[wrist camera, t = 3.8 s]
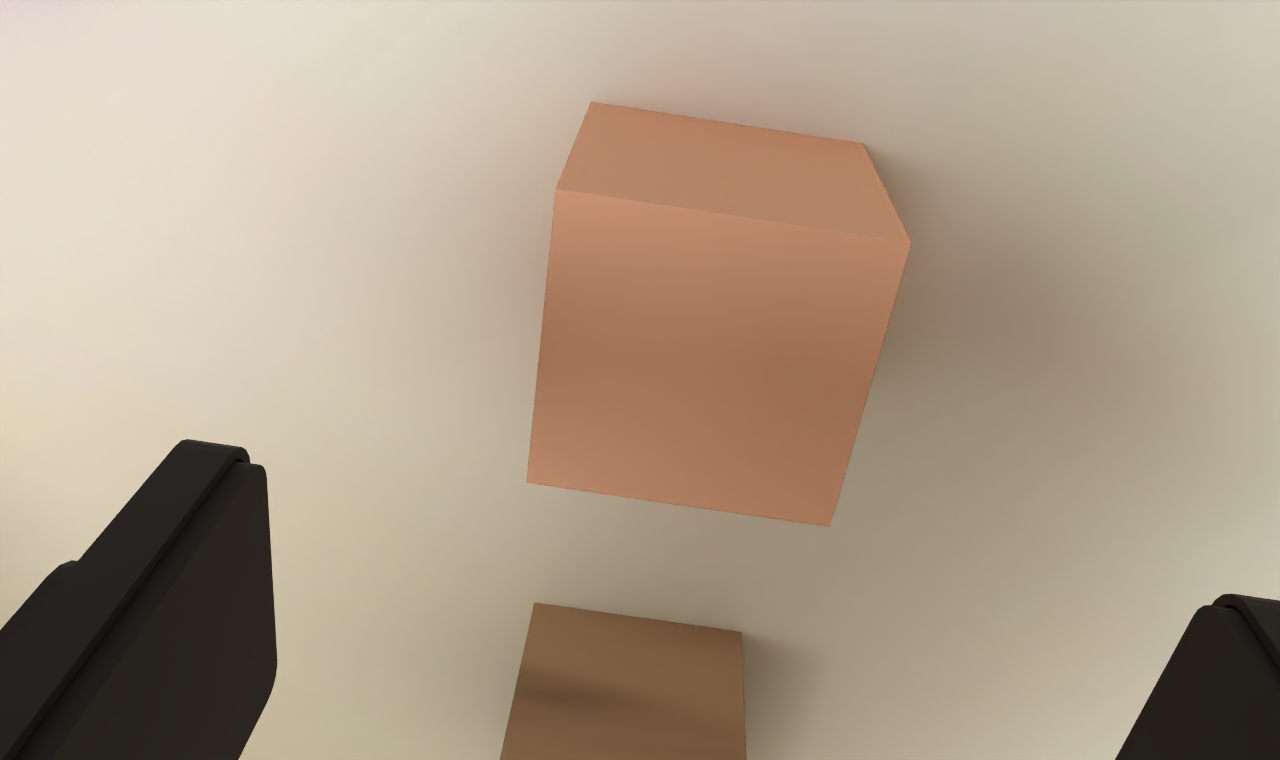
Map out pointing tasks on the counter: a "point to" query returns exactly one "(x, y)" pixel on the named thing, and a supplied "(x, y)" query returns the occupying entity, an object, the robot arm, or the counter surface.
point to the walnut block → (626, 690)
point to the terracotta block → (712, 314)
